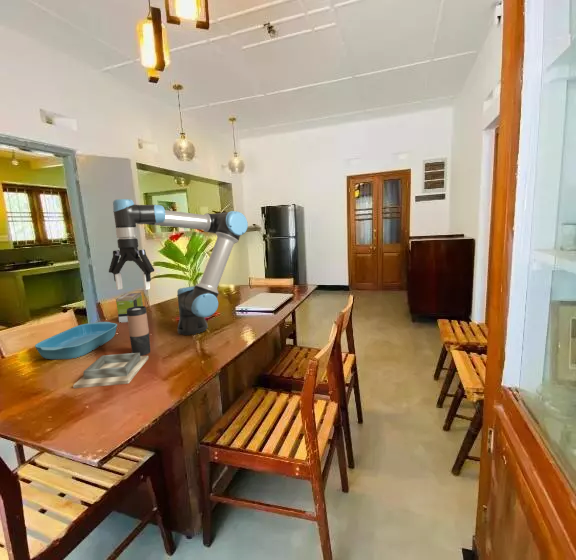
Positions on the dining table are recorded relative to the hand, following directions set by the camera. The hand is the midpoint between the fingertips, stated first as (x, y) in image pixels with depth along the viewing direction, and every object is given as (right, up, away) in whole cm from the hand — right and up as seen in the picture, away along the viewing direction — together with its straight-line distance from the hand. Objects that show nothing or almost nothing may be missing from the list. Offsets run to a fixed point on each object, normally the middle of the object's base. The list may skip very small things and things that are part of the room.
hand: (133, 289), depth 135 cm
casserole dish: (-31, -28, +15) cm, 45 cm away
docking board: (-1, -31, -13) cm, 34 cm away
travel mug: (+1, -28, +5) cm, 28 cm away
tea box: (-30, -20, +61) cm, 71 cm away
